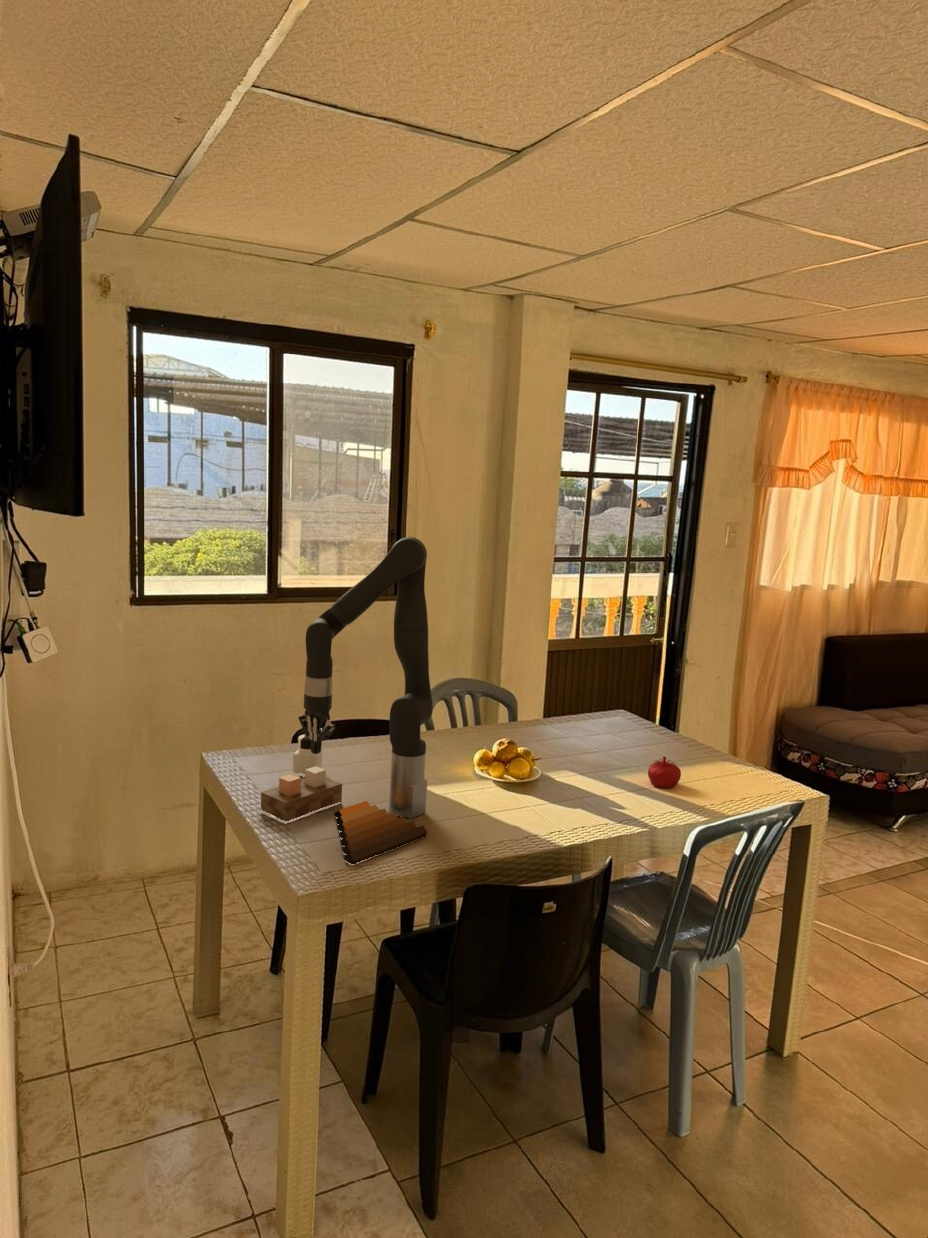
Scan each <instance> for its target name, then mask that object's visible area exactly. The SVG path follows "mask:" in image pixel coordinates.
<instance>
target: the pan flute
mask: <svg viewBox="0 0 928 1238" xmlns="http://www.w3.org/2000/svg"><path fill="white" fill-rule="evenodd" d="M333 813H334V817H335V816H336V817H338V818H337V819H335V823H337V824H339V825H338V826H337V824H336V827H337V831H338V830H340V831H342V832H340V833H339V832H338V836H339V838H340V837H341V838H343V839H342V840H340V839H339V840H340V846H341V845H343V846H345V847H341V848H342V849H341V850H342V853H343V852H344V853H345V854H347V855H343V858H344V861H345V860H346V861H347V862H349V863H351V864H356V863H357V862H360V861H362V860H365V859H368V858H370V857H373V856H375V855H379V854H382V853H384V852H386V851H389V850H392V849H395V848H397V847H400V846H402V845H404V844H407V843H409V844H411V843H410V842H412V841H414V842H416V841H415V840H417V839H419V840H421V839H420V838H422V837H424V838H426V837H427V834H428V830H427V829H426V827H425V826H424V825H423V824H422V825H419V826H417V825H416V823H415V822H414V820H411V821H409V822H407V819H406V818H405V817H398V816H396V815H395V813H388V811H387V810H386V808H382V809H379V807H378V806H377V804H373V805H370V803H369V802H368V800H364V801H361V802H358V803H355V804H353V805H349V806H347V807H344V808H340V809H338V810H336V811H335V812H333ZM425 836H426V837H425ZM422 839H423V838H422ZM417 841H418V840H417ZM412 843H413V842H412ZM407 845H408V844H407ZM404 846H405V845H404ZM402 847H403V846H402ZM400 848H401V847H400ZM397 849H398V848H397ZM395 850H396V849H395ZM392 851H393V850H392ZM382 855H383V854H382Z"/></svg>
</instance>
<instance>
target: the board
mask: <svg viewBox="0 0 928 1238" xmlns="http://www.w3.org/2000/svg"><path fill="white" fill-rule="evenodd" d="M342 794H343V783H341V782H340V781H337V780H334V779H331V778H328V777H326V779H325V785H322V786H319V787H316V788H313V787H311V786H308V785H305V778H304V777H303V778H301V792H300V793H298V794H295V795H292V796H289V797H288V796H286V795H284V794H281V793H279V786H277V787H273V788H270V789H268V790H264V791H261V792H260V810H261V809H262V810H263V811H265V812H267V813H270V814H272V815H274V816H276V817H277V818H280V819H281V820H284V821H289V820H291V819H294V818H297V817H300V816H302V815H305V814H307V813H309V812H312V811H315V810H318V809H320V808H323V807H326V806H329V805H332V804H335V803H338V802H341V803H342V802H343V801H342V797H343V795H342Z"/></svg>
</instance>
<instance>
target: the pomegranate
mask: <svg viewBox="0 0 928 1238" xmlns="http://www.w3.org/2000/svg"><path fill="white" fill-rule="evenodd" d="M670 761H673V760H671V759H669V760H667V757H666V756H662V758H659V760H654V762H653V763H651V764H650V766H649V768H648V770H647V776H648V779H649V780H650V781H649V782H650V783H651V784H652V786H653V787H656V788H661V789H671V788H674V787H676V786H677V785H678V783H679V782H680V781H681V780H680V779H681V777H682V772H681V771H682V770H681V769H680V767H679V766H677V765H678V764H676V763H675V762H670Z"/></svg>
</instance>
